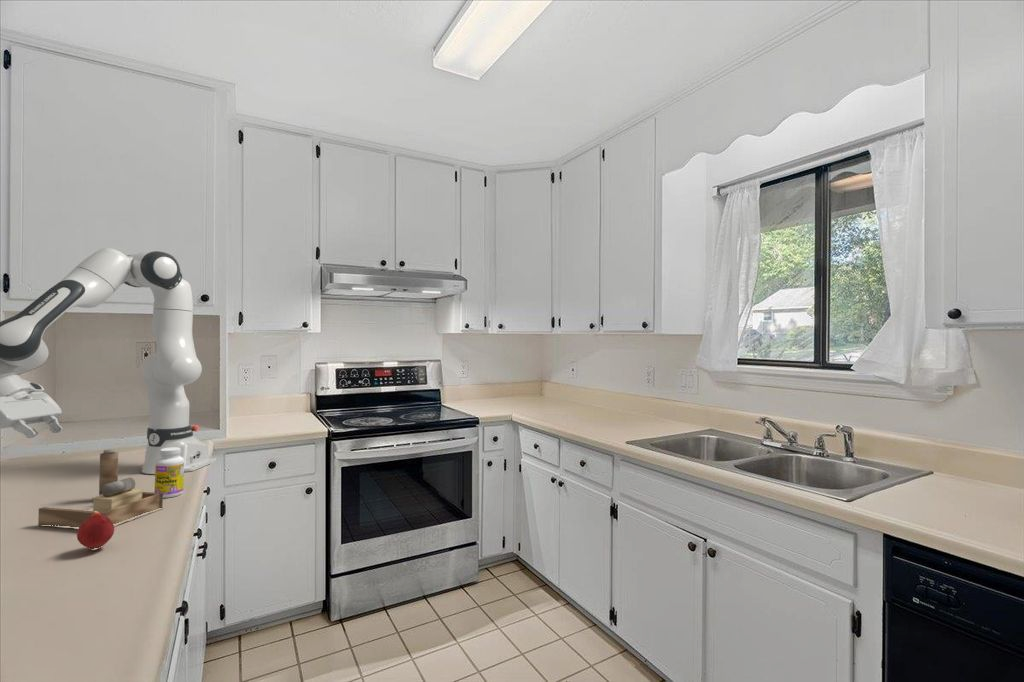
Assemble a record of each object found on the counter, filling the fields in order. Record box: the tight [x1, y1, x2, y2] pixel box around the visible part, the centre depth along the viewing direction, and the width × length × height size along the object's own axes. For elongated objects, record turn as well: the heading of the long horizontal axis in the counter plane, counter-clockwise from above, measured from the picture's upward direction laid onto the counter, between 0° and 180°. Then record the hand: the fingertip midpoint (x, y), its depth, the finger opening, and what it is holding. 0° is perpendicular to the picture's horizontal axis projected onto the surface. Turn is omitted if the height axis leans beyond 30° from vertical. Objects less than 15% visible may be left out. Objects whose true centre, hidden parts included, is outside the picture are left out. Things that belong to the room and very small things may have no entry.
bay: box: [37, 491, 164, 527], centre depth 122 cm, size 16×17×4 cm
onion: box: [76, 511, 115, 550], centre depth 103 cm, size 6×6×8 cm
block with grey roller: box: [91, 477, 145, 512], centre depth 121 cm, size 8×5×9 cm, turn 171°
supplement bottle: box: [153, 447, 185, 499], centre depth 140 cm, size 7×7×13 cm
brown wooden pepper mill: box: [98, 449, 119, 496], centre depth 135 cm, size 5×5×13 cm
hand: (46, 433), depth 132 cm, fingers open, 8 cm apart
